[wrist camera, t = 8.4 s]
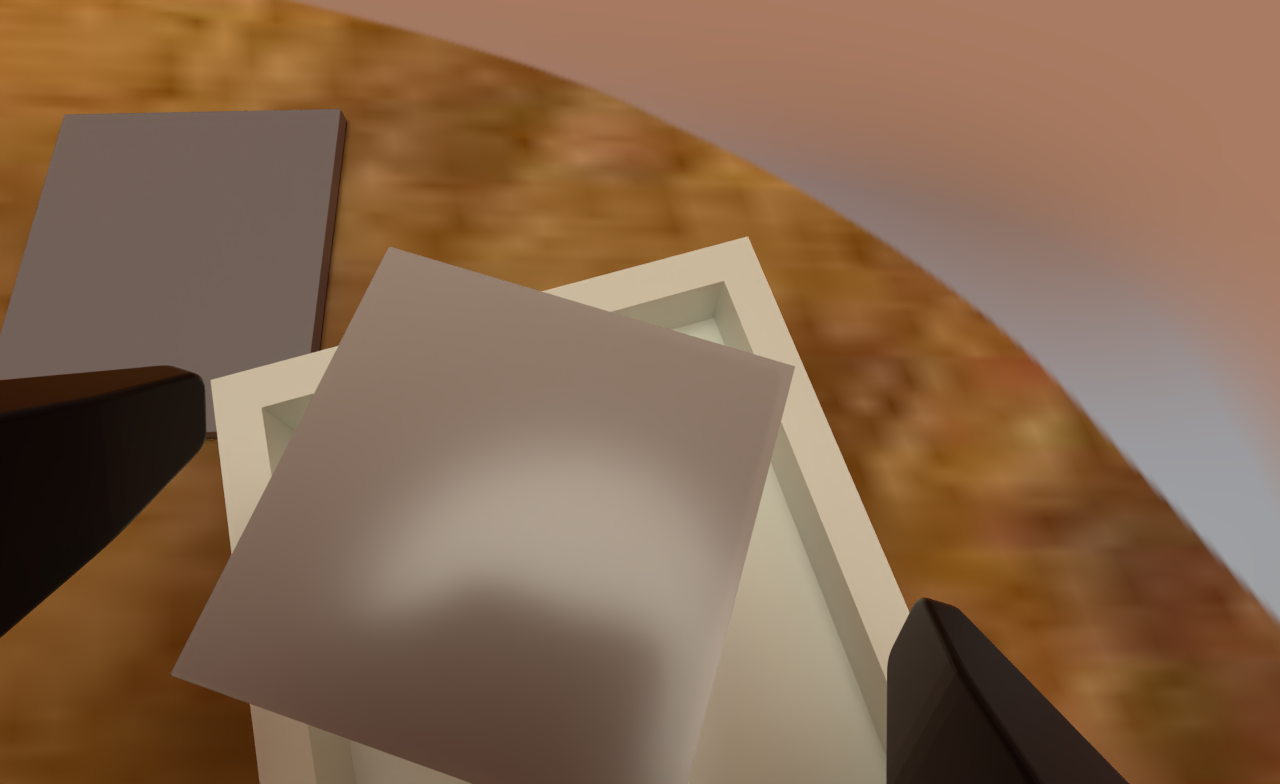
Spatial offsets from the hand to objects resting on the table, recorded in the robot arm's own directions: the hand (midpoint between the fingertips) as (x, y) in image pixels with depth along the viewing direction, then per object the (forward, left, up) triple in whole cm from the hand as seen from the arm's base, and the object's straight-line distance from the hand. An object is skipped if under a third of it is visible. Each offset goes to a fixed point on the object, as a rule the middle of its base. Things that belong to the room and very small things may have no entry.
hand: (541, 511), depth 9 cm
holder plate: (+12, +8, -9) cm, 17 cm away
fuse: (0, 0, -9) cm, 9 cm away
